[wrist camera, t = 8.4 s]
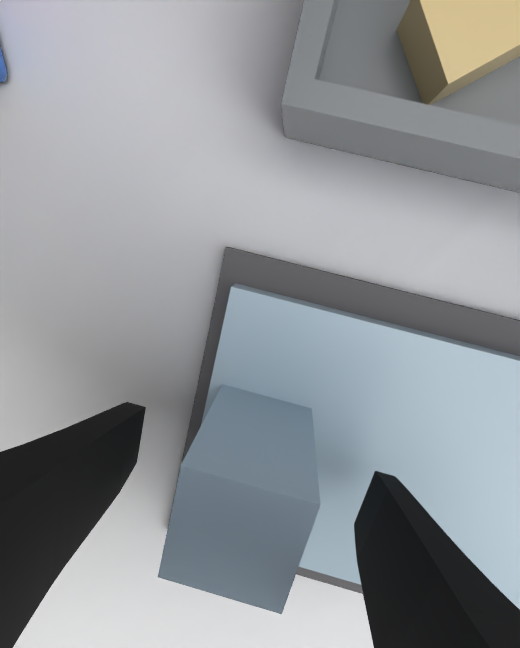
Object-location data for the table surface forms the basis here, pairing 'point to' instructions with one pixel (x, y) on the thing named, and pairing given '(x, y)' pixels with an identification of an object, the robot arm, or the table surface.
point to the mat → (352, 299)
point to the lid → (340, 448)
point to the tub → (411, 84)
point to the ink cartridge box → (2, 68)
